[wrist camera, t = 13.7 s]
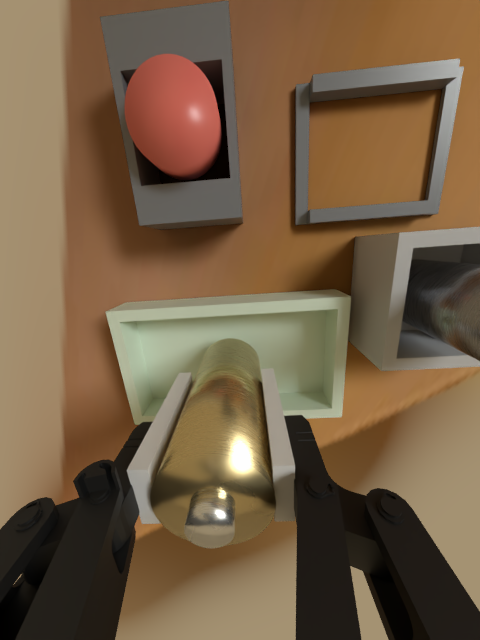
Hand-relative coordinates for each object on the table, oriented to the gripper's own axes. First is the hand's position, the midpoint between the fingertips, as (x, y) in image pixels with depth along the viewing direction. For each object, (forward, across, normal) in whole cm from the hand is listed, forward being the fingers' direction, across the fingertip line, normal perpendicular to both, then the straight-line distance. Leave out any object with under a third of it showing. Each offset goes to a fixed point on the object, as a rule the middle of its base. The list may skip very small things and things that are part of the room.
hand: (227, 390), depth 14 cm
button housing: (+5, -1, +15) cm, 16 cm away
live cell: (+3, 0, 0) cm, 3 cm away
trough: (+5, 0, 0) cm, 5 cm away
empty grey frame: (+5, +10, +14) cm, 18 cm away
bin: (+5, +14, +5) cm, 15 cm away
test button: (+3, -1, +15) cm, 15 cm away
